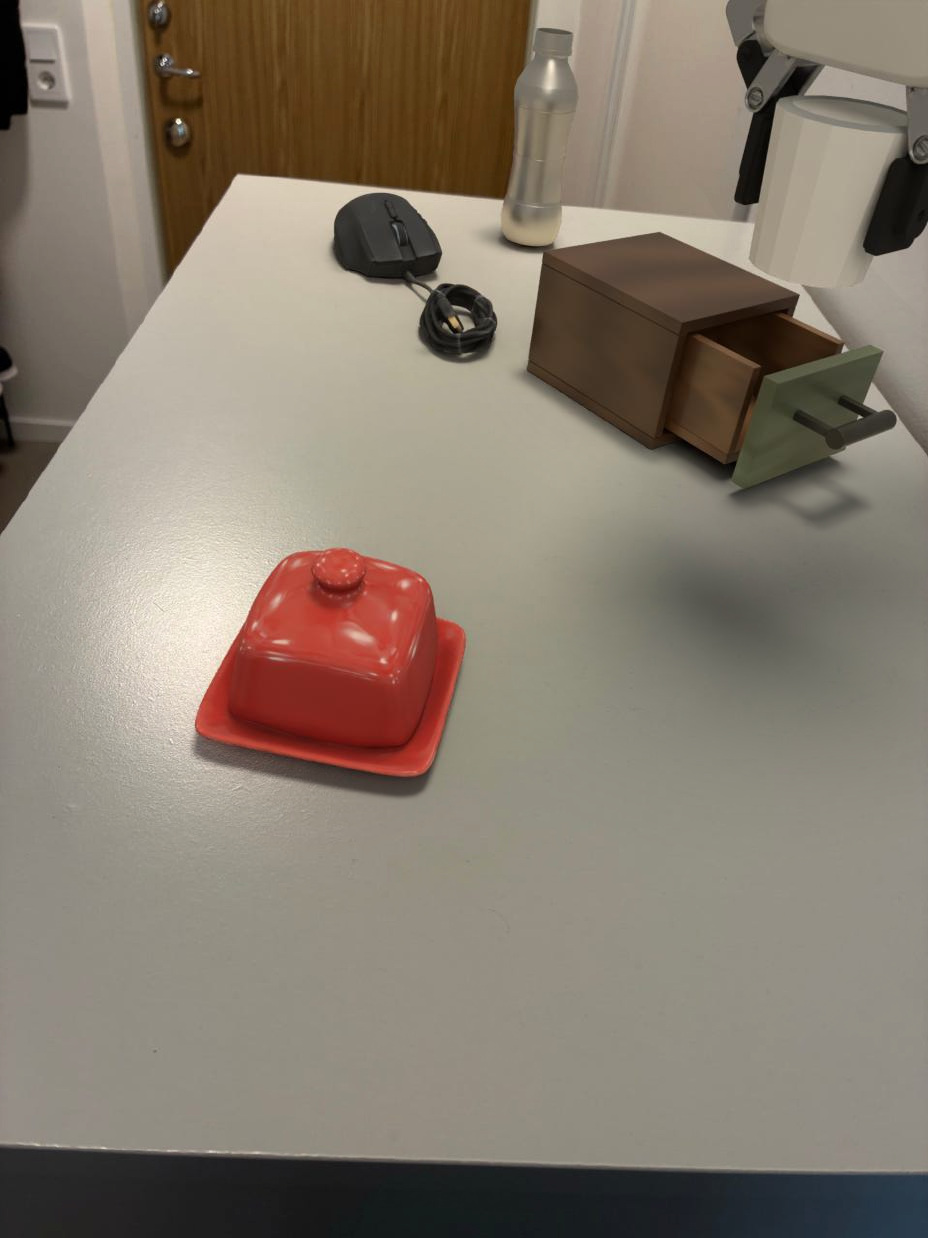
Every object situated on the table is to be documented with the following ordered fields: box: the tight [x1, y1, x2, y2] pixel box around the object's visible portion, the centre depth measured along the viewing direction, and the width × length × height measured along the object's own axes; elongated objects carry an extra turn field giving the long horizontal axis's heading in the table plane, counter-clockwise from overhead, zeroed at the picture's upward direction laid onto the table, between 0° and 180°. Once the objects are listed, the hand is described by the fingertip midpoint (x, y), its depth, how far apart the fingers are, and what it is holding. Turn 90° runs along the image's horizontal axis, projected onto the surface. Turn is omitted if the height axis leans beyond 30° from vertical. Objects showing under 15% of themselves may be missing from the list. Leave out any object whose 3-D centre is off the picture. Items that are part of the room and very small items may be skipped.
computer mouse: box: [333, 192, 498, 354], centre depth 89 cm, size 10×32×6 cm, turn 24°
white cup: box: [748, 94, 909, 290], centre depth 45 cm, size 7×7×7 cm
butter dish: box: [194, 547, 467, 778], centre depth 45 cm, size 12×12×8 cm
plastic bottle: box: [500, 27, 580, 247], centre depth 98 cm, size 6×7×20 cm
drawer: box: [664, 311, 898, 490], centre depth 69 cm, size 18×12×8 cm, turn 36°
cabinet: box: [526, 231, 801, 450], centre depth 75 cm, size 15×13×10 cm
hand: (819, 221), depth 46 cm, fingers closed on white cup, 6 cm apart
